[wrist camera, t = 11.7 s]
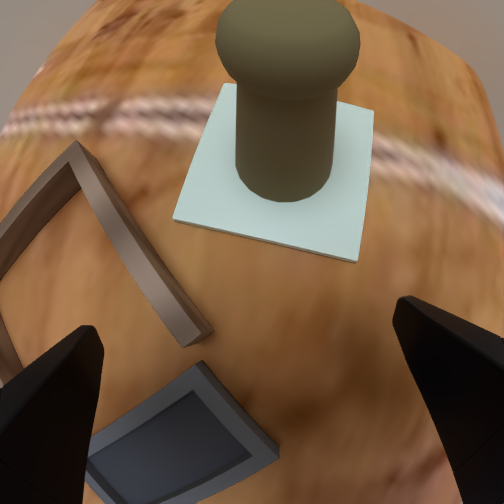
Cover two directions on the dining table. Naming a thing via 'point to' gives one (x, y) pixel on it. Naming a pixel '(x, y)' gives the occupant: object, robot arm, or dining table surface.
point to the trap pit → (178, 445)
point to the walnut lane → (118, 231)
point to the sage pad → (281, 213)
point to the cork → (286, 89)
